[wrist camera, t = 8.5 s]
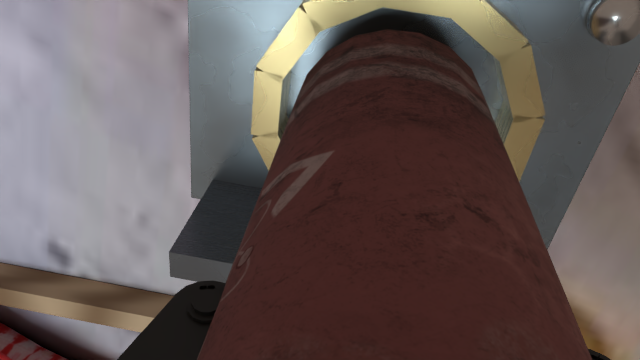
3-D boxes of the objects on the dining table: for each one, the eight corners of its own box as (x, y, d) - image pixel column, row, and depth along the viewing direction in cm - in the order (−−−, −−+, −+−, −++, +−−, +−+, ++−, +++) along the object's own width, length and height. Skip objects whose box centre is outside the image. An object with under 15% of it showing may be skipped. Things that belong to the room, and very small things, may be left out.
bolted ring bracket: (630, -43, 19) (791, 12, 11) (521, 209, 25) (576, 353, 18) (222, -106, 19) (111, -95, 12) (218, 155, 26) (144, 271, 18)
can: (354, 218, 19) (300, 791, 7) (263, 79, 16) (-53, 637, 5) (510, 158, 17) (794, 838, 5) (436, -14, 14) (675, 598, 2)
